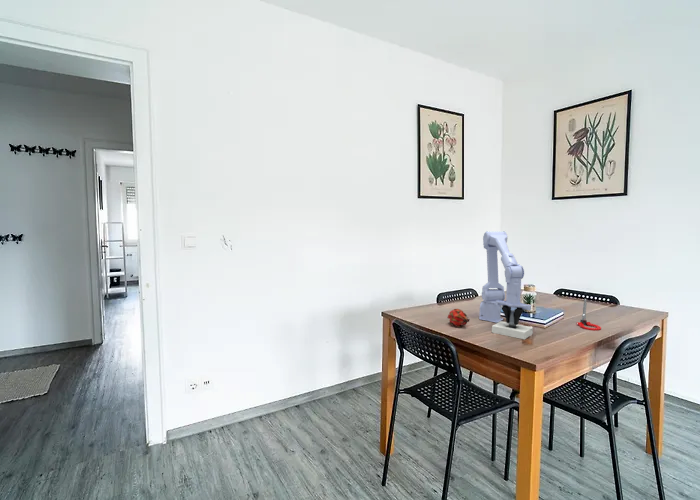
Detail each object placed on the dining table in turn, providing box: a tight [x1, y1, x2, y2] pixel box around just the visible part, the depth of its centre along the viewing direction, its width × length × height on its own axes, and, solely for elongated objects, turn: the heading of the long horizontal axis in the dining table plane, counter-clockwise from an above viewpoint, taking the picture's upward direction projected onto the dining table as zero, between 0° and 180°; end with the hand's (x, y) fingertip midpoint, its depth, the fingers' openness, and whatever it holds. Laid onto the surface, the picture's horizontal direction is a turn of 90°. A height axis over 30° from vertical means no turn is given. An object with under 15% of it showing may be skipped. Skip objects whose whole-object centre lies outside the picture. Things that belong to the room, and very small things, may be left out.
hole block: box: [491, 320, 534, 340], centre depth 166 cm, size 14×10×3 cm
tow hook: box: [575, 298, 602, 332], centre depth 173 cm, size 8×13×9 cm
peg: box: [509, 309, 516, 329], centre depth 165 cm, size 3×3×9 cm
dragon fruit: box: [447, 308, 470, 328], centre depth 178 cm, size 8×8×12 cm
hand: (512, 323), depth 165 cm, fingers closed on peg, 3 cm apart
